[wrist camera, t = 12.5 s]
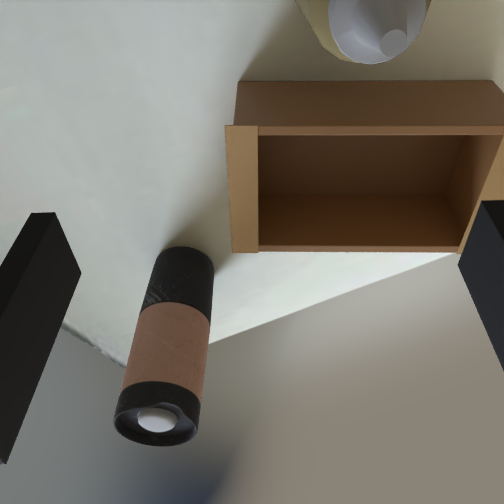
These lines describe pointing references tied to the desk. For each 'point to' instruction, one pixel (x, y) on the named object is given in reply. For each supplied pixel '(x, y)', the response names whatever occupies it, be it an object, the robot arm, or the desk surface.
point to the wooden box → (362, 164)
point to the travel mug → (168, 352)
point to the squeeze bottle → (365, 26)
